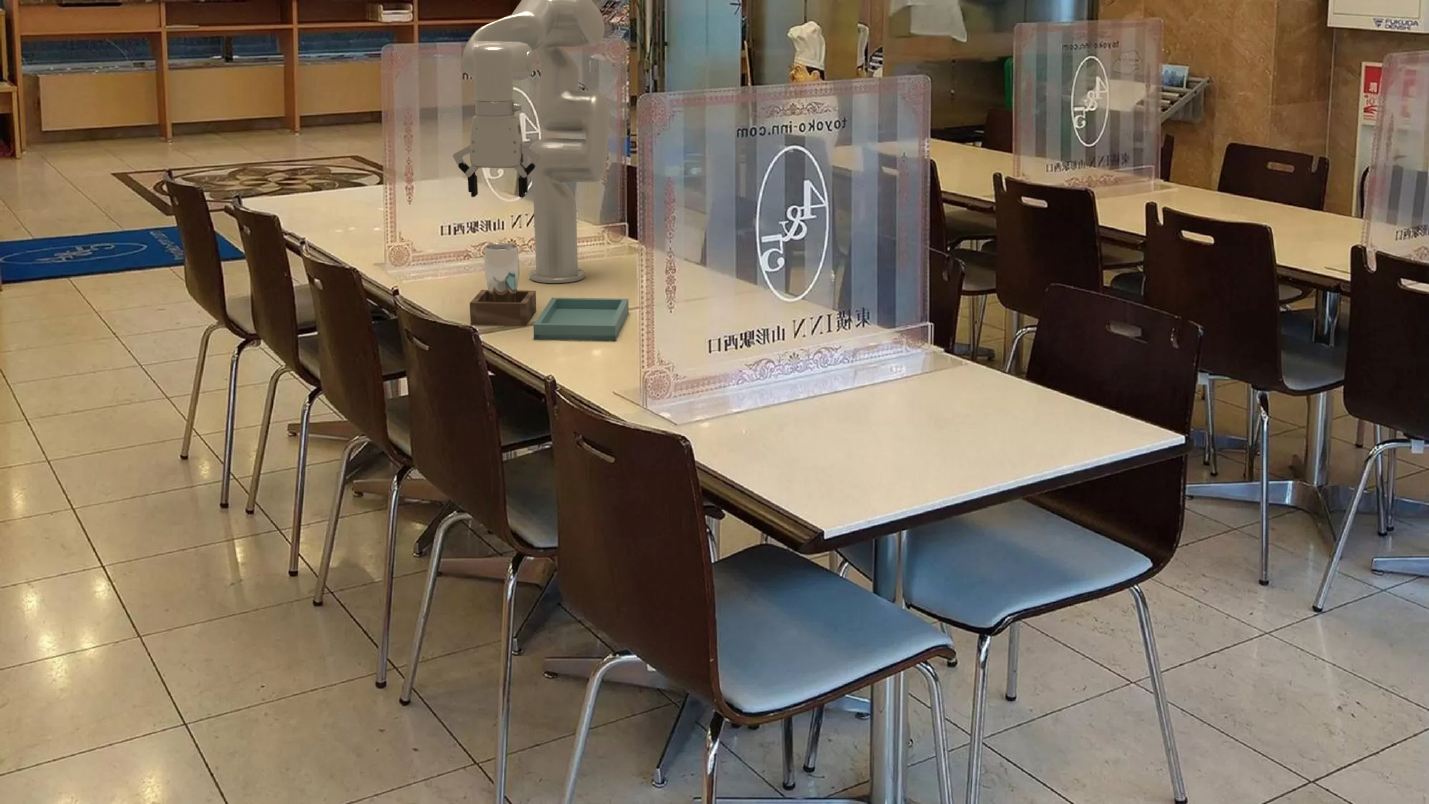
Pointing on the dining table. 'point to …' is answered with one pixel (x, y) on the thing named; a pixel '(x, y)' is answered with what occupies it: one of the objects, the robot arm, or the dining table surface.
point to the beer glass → (502, 271)
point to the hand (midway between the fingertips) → (498, 196)
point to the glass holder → (503, 309)
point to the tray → (581, 319)
